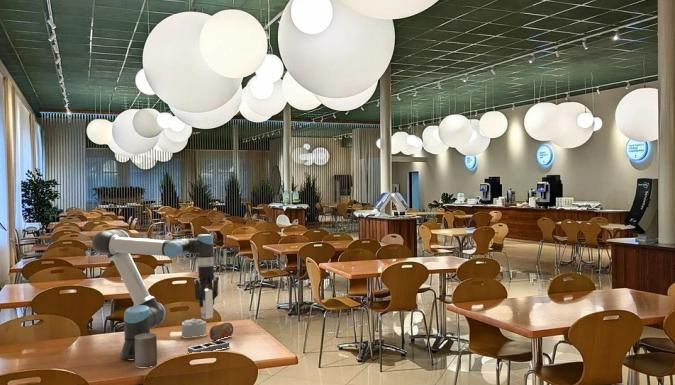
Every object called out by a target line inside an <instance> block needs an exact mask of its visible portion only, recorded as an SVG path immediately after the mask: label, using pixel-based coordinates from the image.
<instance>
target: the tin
mask: <svg viewBox="0 0 675 385" xmlns="http://www.w3.org/2000/svg"><path fill="white" fill-rule="evenodd" d="M208 333H209V338H210V340H212V341H213V340H218V339H221V338H224V337H228V336H231V337H232V336H233V334H234V326H233V324H232V323H231V322H222V323H218V324H214V325H213V326H211V328H210V330H209V332H208Z"/></svg>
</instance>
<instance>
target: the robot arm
mask: <svg viewBox="0 0 675 385" xmlns="http://www.w3.org/2000/svg"><path fill="white" fill-rule="evenodd" d="M91 246H92V249H93V250H94V251H95V253H97V254H99V255H106V256H107V258H108V260H110V261H112V262H113V263H114V265H115V267H116V269H117V271H118V273H119V276H120V277H121V279H122V282H123V283H124V286H125V288H126V289H127V290H126V291H127V292H128V294H129V295H130V298H131V300H132V302H133V306H129V307H127V308H126V309H125V311H124V313H123V314H124V316H123V323H124V324H123V325H124V326H123V327H124V328H123V331H124V332H123V333H124V340H123V341H124V342H123V345H122V349H121V352H120V359H121V358H122V359H121V360H124V359H135V338H134V337H135V336H136V335H139V334H145V333H151V329H154V328H155V327H158V326H159V325H160V324H162V322H163V321H164V320H165V318H166V309H165V307H164V306H163V304H162V303H160V302H158V301H157V299H156V297H155V296H153V295H151V294H150V292H149V290H148V288H147V285H146V283H145V281H144V279H143V277H142V276H141V273H140V272H139V270H138V268H137V265H136V263H135V262H134V259H133V257H132V255H134V254H135V255H147V256H148V255H149V256H158V257H159V256H162V257H163V256H164V257H168V258H170V259H172V258H178V257H180V256H184V255H188V254H189V255H190V254H191V255H192V254H193V255H195V254H197V266H198V268H197V269H198V271H197V272H198V277H197V278H196V279H193V281H192V282H193V284H194V295H195V300H197V301H199V302H198V304H199V305H198V306H199V307H200V314H201V313H203V314H205V300H203V299H204V290H205V289H206V287H207V289H212V300H213V306H214V305H215V299H216V297H217V298H218V296H219V280H220V278H219V276H215V274H214V272H215V267H214V238H213V235H212V234H207V233H205V234H198V235H197V238H176V239H174V240H168V239H167V240H164V239H152V238H136V237H130V235H129V234H128V232H127V231H125V230H123V229H117V228H114V229H113V228H112V229H109V230H103V231H99V232H97V233H96V234H95V235H94V236H93V237H92V239H91ZM131 254H132V255H131Z"/></svg>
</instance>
